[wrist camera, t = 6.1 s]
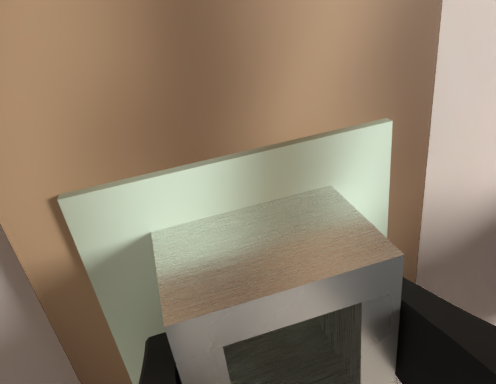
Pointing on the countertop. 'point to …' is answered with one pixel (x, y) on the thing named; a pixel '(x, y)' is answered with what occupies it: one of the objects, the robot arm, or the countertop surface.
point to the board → (196, 138)
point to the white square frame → (281, 294)
